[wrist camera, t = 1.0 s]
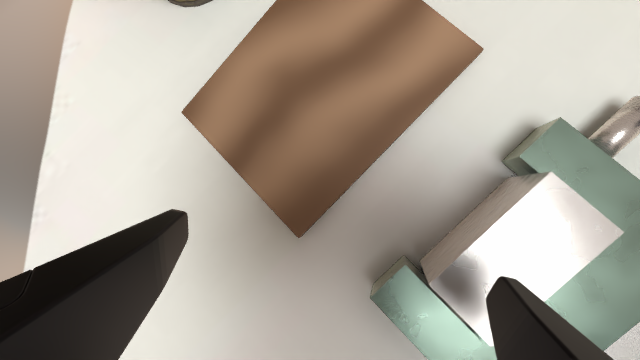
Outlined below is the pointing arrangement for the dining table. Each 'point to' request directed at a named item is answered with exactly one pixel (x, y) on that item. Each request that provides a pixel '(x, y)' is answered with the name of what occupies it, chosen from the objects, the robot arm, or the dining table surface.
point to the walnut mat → (325, 95)
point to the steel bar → (517, 245)
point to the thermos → (189, 2)
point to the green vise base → (582, 289)
